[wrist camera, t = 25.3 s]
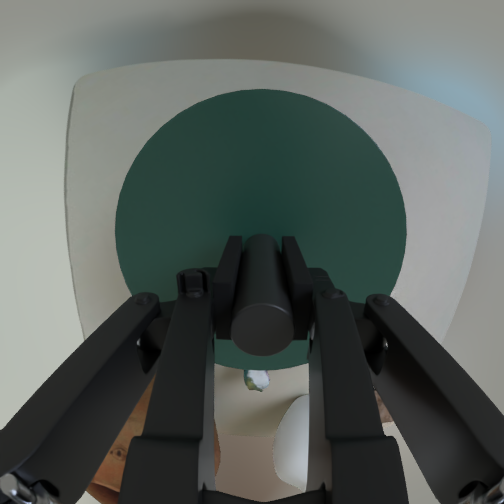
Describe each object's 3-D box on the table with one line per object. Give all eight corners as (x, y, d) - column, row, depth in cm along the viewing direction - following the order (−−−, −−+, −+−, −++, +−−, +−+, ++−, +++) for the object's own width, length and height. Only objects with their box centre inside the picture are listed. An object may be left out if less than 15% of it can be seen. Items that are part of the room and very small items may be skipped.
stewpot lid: (116, 106, 16) (15, 85, 7) (406, 109, 16) (506, 90, 6) (144, 353, 23) (102, 439, 13) (373, 356, 23) (412, 443, 13)
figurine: (302, 378, 47) (295, 408, 41) (258, 382, 51) (247, 410, 44) (282, 328, 45) (272, 358, 38) (234, 336, 48) (218, 363, 41)
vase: (347, 405, 52) (375, 513, 26) (288, 426, 55) (294, 533, 28) (327, 367, 48) (359, 500, 22) (259, 392, 51) (256, 521, 24)
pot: (162, 328, 46) (93, 475, 18) (252, 401, 52) (247, 534, 23) (102, 377, 52) (46, 478, 24) (180, 433, 57) (156, 534, 29)
